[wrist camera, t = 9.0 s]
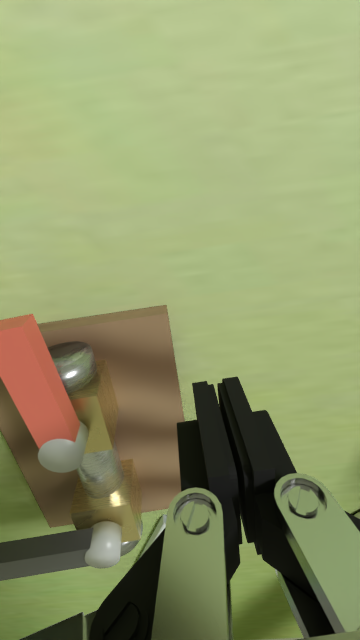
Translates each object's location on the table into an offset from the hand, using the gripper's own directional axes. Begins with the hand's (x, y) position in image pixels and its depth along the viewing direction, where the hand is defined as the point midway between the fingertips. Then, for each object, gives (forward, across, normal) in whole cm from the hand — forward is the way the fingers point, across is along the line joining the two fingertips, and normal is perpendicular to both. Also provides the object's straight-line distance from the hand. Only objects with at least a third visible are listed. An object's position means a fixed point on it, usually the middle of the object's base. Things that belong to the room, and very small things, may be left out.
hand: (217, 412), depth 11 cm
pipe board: (+12, +9, +10) cm, 18 cm away
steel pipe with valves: (+10, +9, +10) cm, 17 cm away
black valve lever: (+6, +12, +15) cm, 20 cm away
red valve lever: (+6, +9, +2) cm, 11 cm away
